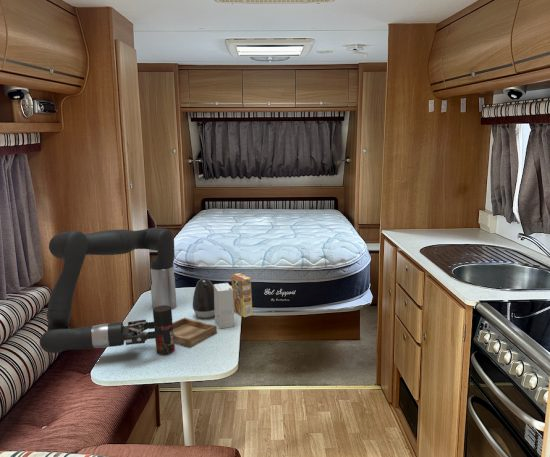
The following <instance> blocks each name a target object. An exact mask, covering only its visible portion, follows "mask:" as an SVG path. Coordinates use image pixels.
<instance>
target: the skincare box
mask: <svg viewBox="0 0 550 457" xmlns="http://www.w3.org/2000/svg"><path fill="white" fill-rule="evenodd" d="M213 286H214V307H215V315H214V322H215V323H216V326H217V327H218V329H226V328H227V329H228V328H233V327H235V315H234V314H235V312H234V304H233V289H232V285H230V284H229V282H222V283H215V284H214V283H213Z"/></svg>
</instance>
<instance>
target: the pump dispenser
mask: <svg viewBox="0 0 550 457" xmlns="http://www.w3.org/2000/svg"><path fill="white" fill-rule="evenodd" d="M192 298H193V299H192V310H193V311H194V313H195V315H196V316H197V317H199V318H202V319H208V318H212V317H215V307H214V283H212V281H211V280H210V279H209V278H206V277H205V278H201V279H199V280H198V281H197V282H196V285H195V287H194V293H193V297H192Z"/></svg>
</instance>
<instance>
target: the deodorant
mask: <svg viewBox="0 0 550 457" xmlns="http://www.w3.org/2000/svg"><path fill="white" fill-rule="evenodd" d="M172 311H173V310H172V309H171V306H167V305H162V306H157V307H155V308H154V307H153V308H152V317H153V318H152V319H153V322H154V331H159V335H160V337H159V338H155V350H156V354H157V355H160V356H167V355H171V354H173V353H175V350H176V347H175V346H176V345H175V343H174V334H173V323H174V322H173V312H172Z"/></svg>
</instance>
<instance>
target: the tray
mask: <svg viewBox="0 0 550 457" xmlns="http://www.w3.org/2000/svg"><path fill="white" fill-rule="evenodd" d="M217 327H218V326H217V325H214V324H211V323H206V322H203V321H199V320H196V319H195V320H194V319H191V318H187V317H182V318H179V319H178V320H176V321H174V322H173V334H174V345H175V344H176V345H179V346H183V347H186V348H189V349H190V348H192V347H194V346H195V345H197V344H200V343H202V342H203V341H204V340H207V339H208V338H210V337H213V336H215V335H216V334H218V330H217V329H218V328H217Z"/></svg>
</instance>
